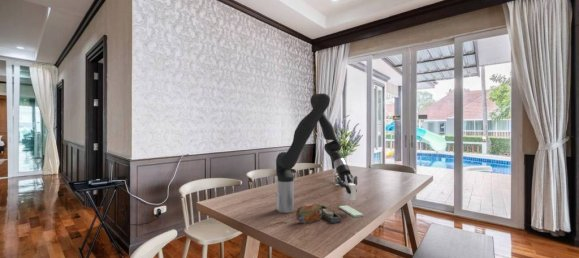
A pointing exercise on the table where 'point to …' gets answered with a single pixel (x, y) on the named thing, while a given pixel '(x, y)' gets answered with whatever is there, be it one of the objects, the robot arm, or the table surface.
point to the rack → (333, 219)
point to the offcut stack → (328, 212)
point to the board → (351, 211)
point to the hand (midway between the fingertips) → (352, 192)
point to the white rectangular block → (353, 192)
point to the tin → (309, 213)
